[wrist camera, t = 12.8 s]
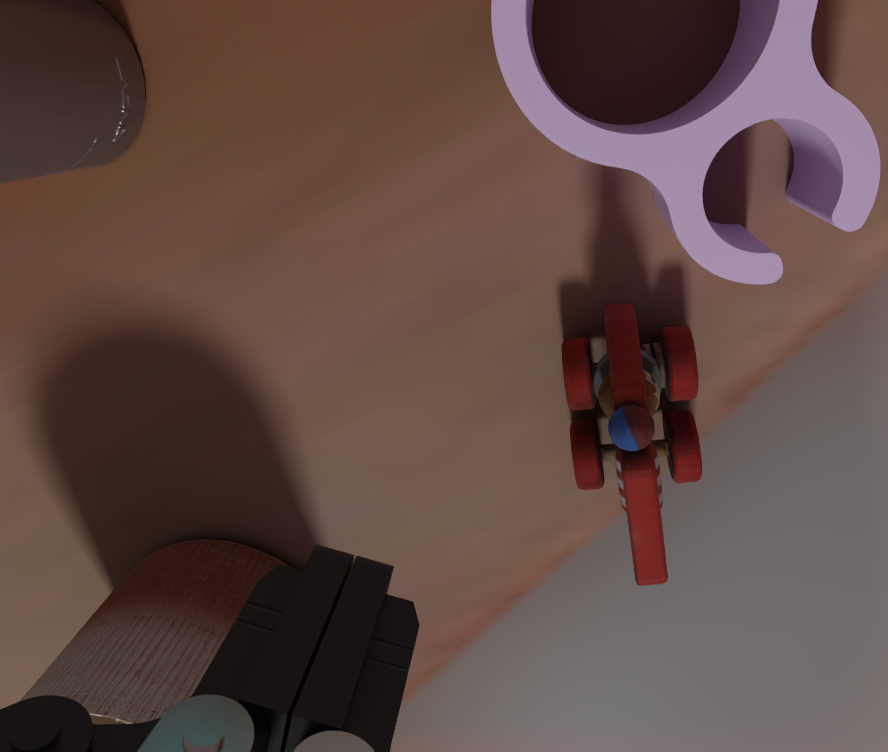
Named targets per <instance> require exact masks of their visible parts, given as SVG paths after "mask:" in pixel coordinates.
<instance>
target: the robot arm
mask: <svg viewBox="0 0 888 752" xmlns="http://www.w3.org/2000/svg"><path fill="white" fill-rule="evenodd" d="M145 102H146V100H145V82H144V77H143V73H142V68H141V64H140V61H139V59H138V57H137V54H136V52H135V49H134V47H133V44H132V43H131V41H130V40H129V38H128V36H127V35H126V33H125V32H124V30H123V28H122V27H121V26H120V25H119V24H118V22H117V21H116V20H115V19H114V18H113V17H112V16H111V14H110V13H109V12H108V11H106V10H105V9H104V8H103V7H101V6H100V5H99V4H97V3H96V2H95V1H94V0H0V184H2V183H7V182H13V181H18V180H23V179H29V178H34V177H39V176H45V175H51V174H56V173H62V172H67V171H72V170H77V169H82V168H87V167H92V166H97V165H102V164H105V163H107V162H109V161H111V160H113V159H115V158H117V157H118V156H119V155H121V154H122V153H123V152H124V151H125V150H126V149H128V147H129V146H130V145H131V143H132V142H133V140H134V139H135V137H136V136H137V134H138V131H139V128H140V126H141V123H142V121H143V116H144V109H145ZM353 561H354V563H353ZM393 568H394V566H392V565H388V564H385V563H381V562H378V561H374V560H370V559H367V558H363V557H360V556H356V558H355V560H354V555H352V554H349V553H345V552H342V551H338V550H335V549H331V548H328V547H324V546H320V545H316V546H315V547H314V549H313V551H312V553H311V555H310V557H309V559H308V561H307V563H306V565H305V567H304V569H303V570H299V569H296V568H292V567H289V566H285V565H282V564H280V565H278V566H277V567H276V568H274V569H273V570H271V571H270V572H269V573H267V574H266V575H264V576H263V577H262V578H260V579H259V580H258V582H257V583H256V585H255V587H254V589H253V590H252V592H251V594H250V596H249V597H248V599H247V601H246V604H245V606H243V608H242V609H241V611H240V613H239V615H238V616H237V618H236V621H235V623H233V625H232V627H231V629H230V630H229V632H228V634H227V635H226V637H225V639H224V641H223V642H222V644H221V646H220V648H219V649H218V651H217V653H216V655H215V656H214V658H213V660H212V661H211V663H210V665H209V667H208V668H207V670H206V672H205V674H204V675H203V677H202V679H201V681H200V682H199V684H198V686H197V688H196V689H195V691H194V692H193V694H192V695H191V696H190V697H189V698H188V699H185V700H183V701H181V702H179V703H177V704H176V705H174V706H173V707H171V708H170V709H169V710H168V711H167V712H166V713H165V714H164V715H163V716H162V717H161V718H158V719H155V720H152V721H147V722H142V723H133V724H96V725H92V720H91V717H90V714H89V713H88V711H87V710H86V708H84V707H83V706H82V705H81V704H80V703H78V702H77V701H75V700H73V699H70V698H67V697H63V696H57V695H45V696H37V697H33V698H28V699H26V700H23V701H20V702H17V703H15V704H12V705H10V706H8V707H5V708H3V709H0V752H390V747H391V742H392V737H393V734H394V730H395V726H396V722H397V717H398V713H399V709H400V705H401V701H402V696H403V692H404V688H405V684H406V680H407V675H408V671H409V667H410V663H411V659H412V654H413V650H414V646H415V642H416V638H417V633H418V629H419V622H418V618H417V614H416V611H415V607H414V603H413V602H412V601H409V600H405V599H402V598H398V597H395V596H391V595H388V594H387V592H388V588H389V584H390V580H391V576H392V573H393Z"/></svg>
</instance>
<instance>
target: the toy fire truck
mask: <svg viewBox="0 0 888 752" xmlns="http://www.w3.org/2000/svg"><path fill="white" fill-rule="evenodd" d="M604 320H605V330H606V339H607V349H608V353H607V354H606V355H604V356H603V357H602V358H601V360H600V361H599V362H598V363H592V357H591V350H590V343H589V340H588V339H587V338H584V337H580V338H574V339H567V340H565V341H564V342H563V343H562V362H563V373H564V382H565V389H566V396H567V402H568V406H569V408H570V409H571V410H575V411H576V410H586V409H592V408H594V406H595V404H596V396H597V397H598V399H599V403H600V406H601V408H602V410H603V412H604V413H605V415H606V416H607V417H608V418H610V420H609V424H608V431H609V435H610V438H611V439H612V441H613V442H614V443H615V444H603V445H600V439H599V433H598V426H597V423H596V421H595V420H593V419H584V420H576V421H573V422H572V423H571V425H570V438H571V449H572V458H573V465H574V472H575V478H576V483H577V486H578V488H579V489H582V490H590V489H600V488H601V487H603V485H604V471H603V463H602V462H603V461H615V460H616V469H617V477H618V485H619V493H620V499H621V504H622V507H623V509H624V510H625V511H626V512H627V518H628V525H629V533H630V540H631V549H632V557H633V564H634V572H635V580H636V583H637V585H640V586H642V585H652V584H663V583H665V582H666V581H667V579H668V574H667V566H666V556H665V546H664V537H663V528H662V519H661V510H660V509H661V507H662V502H663V497H662V488H661V477H660V467H659V459H658V456H665V455H667V459H668V464H669V469H670V473H671V476H672V478H673V480H674V481H675V482H677V483H684V482H695V481H698V480H700V478H701V476H702V461H701V452H700V444H699V438H698V432H697V428H696V424H695V420H694V417H693V415H692V413H691V412H690V411H689V410H678V411H670V412H666V413H665V414H664V417H663V427H664V437H665V439H663V440H652V438H653V436H654V431H655V429H654V420H653V418H652V416H653V414H654V413H655V411H656V410H657V408H658V406H659V402H660V393H661V390H662V388H664V389H665V393H666V396H667V397H668V398H669V400H672V401H680V400H691V399H693V398H695V397H696V396H697V393H698V371H697V361H696V353H695V347H694V341H693V338H692V334H691V331H690V328H689V327H688V326H686V325H677V326H669V327H664V328H662V329H661V330H660V332H659V343H652V342H650V343H648V344H643V345H642V346H641V347H640V342H639V335H638V328H637V322H636V317H635V312H634V308H633V305H632V304H630V303H622V304H610V305H605V306H604Z"/></svg>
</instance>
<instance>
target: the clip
mask: <svg viewBox="0 0 888 752" xmlns="http://www.w3.org/2000/svg"><path fill="white" fill-rule="evenodd" d="M817 2H818V0H740V11H739V19H738V24H737V29H736V33H735V36H734V39H733V42H732V45H731V47H730V50H729V52H728V54H727V56H726V58H725V60H724V62H723V64H722V66H721V67H720V69H719V70H718V72H717V73H716V75H715V76H714V77H713V79H712V80H711V81H710V82H709V84H708V85H707V86H706V87H705V88H704V89H703V90H702V91H701V92H700V93H699V94H698V95H697V96H696V97H695V98H693V99H692V100H691V101H690V102H688V103H687V104H686V105H684V106H683V107H681V108H680V109H678V110H676V111H674V112H673V113H671V114H669V115H667V116H664V117H662V118H659V119H657V120H653V121H650V122H646V123H641V124H634V125H615V124H608V123H603V122H599V121H596V120H593V119H590V118H588V117H586V116H584V115H582V114H580V113H578V112H577V111H575V110H574V109H572V108H571V107H569V106H568V105H567V104H566V103H565V102H564V101H562V99H561V98H560V97H559V96H558V95H557V94H556V93H555V92H554V91H553V89H552V88H551V86H550V85H549V84H548V82H547V80H546V78H545V77H544V75H543V73H542V71H541V68H540V66H539V63H538V60H537V57H536V54H535V49H534V44H533V37H532V12H533V5H534V0H492V5H491V18H492V32H493V40H494V46H495V50H496V55H497V59H498V62H499V66H500V69H501V72H502V74H503V77H504V79H505V82H506V84H507V86H508V88H509V90H510V92H511V94H512V96H513V98H514V99H515V101H516V103H517V104H518V106H519V107H520V109H521V110H522V111H523V113H524V114H525V116H526V117H527V118H528V119H529V120H530V122H531V123H532V124H533V125H534V126H535V127H536V128H537V129H538V130H539V131H540V132H541V133H542V134H544V135H545V136H546V137H547V138H548V139H550V140H551V141H552V142H553V143H555V144H556V145H558V146H559V147H561V148H562V149H564V150H566V151H568V152H570V153H571V154H574V155H576V156H578V157H580V158H582V159H585V160H588V161H591V162H594V163H597V164H601V165H605V166H610V167H617V168H623V169H627V170H631V171H634V172H636V173H638V174H640V175H642V176H644V177H645V178H647V179H648V181H649V184H650V187H651V190H652V194H653V199H654V202H655V204H656V207H657V209H658V211H659V213H660V215H661V217H662V218H663V220H664V221H665V222H666V224H667V225H668V227H669V228H670V229H671V231H672V232H673V233H674V235H675V236H676V238H677V239H678V240H679V242H680V243H681V244H682V246H683V247H684V249H685V250H686V251H687V252H688V254H689V255H690V256H691V257H692V258H693V259H694V260H695V261H696V262H697V263H699V264H700V265H701V266H702V267H704V268H705V269H707V270H708V271H710V272H712V273H713V274H715V275H718V276H720V277H722V278H725V279H728V280H731V281H735V282H740V283H746V284H771V283H774V282H776V281H777V280H778V279H779V278H780V277H781V275H782V272H783V267H782V261H781V259H780V257H779V256H778V255H777V254H775V253H774V252H773V251H772V250H771V249H769V248H768V247H767V246H766V245H764V244H763V243H762V242H761V241H759V240H758V239H757V238H756V237H755V236H753V235H752V234H751V233H750V232H748V231H747V230H746V229H745V228H744V227H742V226H741V225H739V224H720V223H715V222H711V221H709V220H707V218H706V215H705V212H704V208H703V199H702V192H703V184H704V179H705V176H706V173H707V170H708V168H709V166H710V164H711V162H712V160H713V158H714V157H715V155H716V154H717V152H718V151H719V150H720V148H721V147H722V146H723V145H724V144H725V143H726V142H727V141H728V140H729V139H730V138H732V137H733V136H734V135H735V134H737V133H738V132H740V131H741V130H743V129H745V128H747V127H749V126H751V125H753V124H755V123H758V122H761V121H765V120H769V119H773V120H774V121H775V122H777V123H778V124H779V125H780V126H781V127H782V128H783V129H784V131H785V132H786V134H787V135H788V137H789V139H790V142H791V145H792V148H793V154H794V166H793V172H792V176H791V179H790V182H789V184H788V186H787V189H786V192H785V194H786V198H787V199H788V200H789V201H790V202H792V203H793V204H795V205H797V206H799V207H801V208H803V209H804V210H806V211H808V212H810V213H812V214H814V215H816V216H818V217H819V218H821V219H823V220H825V221H827V222H829V223H831V224H832V225H834V226H836V227H838V228H840V229H842V230H844V231H847V232H851V231H855V230H857V229H859V228H860V227H861V226H862V225H863V224H864V223H865V221H866V219H867V217H868V215H869V213H870V211H871V209H872V206H873V204H874V201H875V198H876V194H877V191H878V186H879V179H880V155H879V150H878V145H877V142H876V138H875V136H874V133H873V131H872V129H871V127H870V125H869V123H868V122H867V120H866V119H865V117H864V116H863V114H862V113H861V112H860V111H859V110H858V109H857V108H856V107H855V106H854V105H853V104H852V103H851V102H850V101H849V100H847V99H846V98H845V97H843V96H842V95H840V94H839V93H837V92H836V91H834V90H833V89H832V88H831V87H830V86H829V85H828V84H827V83H826V82H825V81H824V80H823V78H822V77H821V75H820V74H819V72H818V70H817V68H816V65H815V63H814V59H813V55H812V49H811V32H812V25H813V20H814V16H815V12H816V7H817Z"/></svg>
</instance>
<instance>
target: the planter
mask: <svg viewBox="0 0 888 752" xmlns="http://www.w3.org/2000/svg"><path fill="white" fill-rule="evenodd" d="M280 564H282V565H285V566H289V565H287V564H286V563H284V562H282V561H281V560H279V559H277V558H275V557H273V556H271V555H269V554H267V553H265V552H263V551H260V550H257V549H255V548H252V547H249V546H246V545H243V544H239V543H234V542H229V541H223V540H212V539H197V540H188V541H182V542H178V543H174V544H171V545H168V546H165V547H163V548H161V549H158V550H157V551H155V552H153V553H152V554H150V555H148V556H147V557H146V558H144V559H143V560H142V561H141V562H140V563H139V564H138V565H137V566H136V567H135V568H134V569H133V570H132V571H131V572H130V573H129V574H128V575H127V576H126V577H125V578H124V579H123V580H122V581H121V582H120V584H119V585H118V586H117V587H116V588H115V589H114V590H113V592H112V593H111V594H110V595H109V596H108V598H107V599H106V600H105V601H104V602H103V603H102V605H101V606H100V607H99V608H98V609H97V611H96V612H95V613H94V614H93V615H92V617H91V618H90V619H89V620H88V621H87V622H86V624H85V625H84V626H83V627H82V628H81V630H80V631H79V632H78V633H77V634H76V636H75V637H74V638H73V639H72V640H71V642H70V643H69V644H68V645H67V646H66V648H65V649H64V650H63V651H62V652H61V653H60V655H59V656H58V657H57V658H56V659H55V661H54V662H53V663H52V664H51V665H50V666H49V668H48V669H47V670H46V671H45V672H44V674H43V675H42V676H41V677H40V678H39V679H38V681H37V682H36V683H35V684H34V685H33V686H32V688H31V689H30V690H29V691H28V692H27V693H26V695H25V696H24V697H23V698H22V699H21V700H20V701H23V700H26V699H28V698H33V697H37V696H45V695H57V696H63V697H67V698H70V699H73V700H75V701H77V702H78V703H80V704H81V705H82V706H83V707H84V708H86V710H87V711H88V713H89V714H90V717H91V720H92V725H96V724H133V723H142V722H147V721H152V720H155V719H158V718H161V717H162V716H163V715H164V714H165V713H166V712H167V711H168V710H169V709H170V708H171V707H173V706H174V705H176V704H177V703H179V702H181V701H183V700H185V699H188V698H189V697H190V696H191V695H192V694H193V692H194V691H195V689H196V688H197V686H198V684H199V682H200V681H201V679H202V677H203V675H204V674H205V672H206V670H207V668H208V667H209V665H210V663H211V661H212V660H213V658H214V656H215V655H216V653H217V651H218V649H219V648H220V646H221V644H222V642H223V641H224V639H225V637H226V635H227V634H228V632H229V630H230V629H231V627H232V625H233V623H235V621H236V618H237V616H238V615H239V613H240V611H241V609H242V608H243V606H245V604H246V601H247V599H248V597H249V596H250V594H251V592H252V590H253V589H254V587H255V585H256V583H257V582H258V580H259V579H260V578H262V577H263V576H264V575H266V574H267V573H269V572H270V571H271V570H273V569H274V568H276V567H277V566H278V565H280ZM289 567H290V566H289Z"/></svg>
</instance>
